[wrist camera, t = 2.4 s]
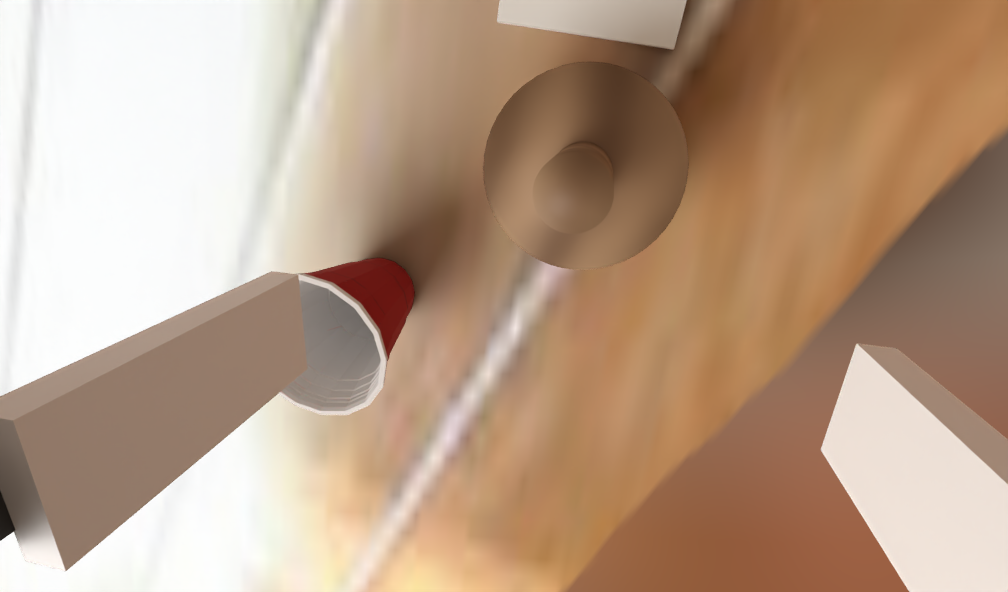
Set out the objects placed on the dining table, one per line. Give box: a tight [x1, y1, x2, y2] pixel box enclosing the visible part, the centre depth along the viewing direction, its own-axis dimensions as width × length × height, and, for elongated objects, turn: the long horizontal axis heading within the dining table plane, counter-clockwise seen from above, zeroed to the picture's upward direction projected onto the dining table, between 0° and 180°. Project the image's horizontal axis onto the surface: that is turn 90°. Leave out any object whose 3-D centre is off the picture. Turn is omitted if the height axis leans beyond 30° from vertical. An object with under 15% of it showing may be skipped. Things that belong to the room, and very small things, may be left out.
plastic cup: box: [278, 258, 415, 415], centre depth 38 cm, size 11×11×12 cm
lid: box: [483, 62, 689, 270], centre depth 26 cm, size 12×12×9 cm
